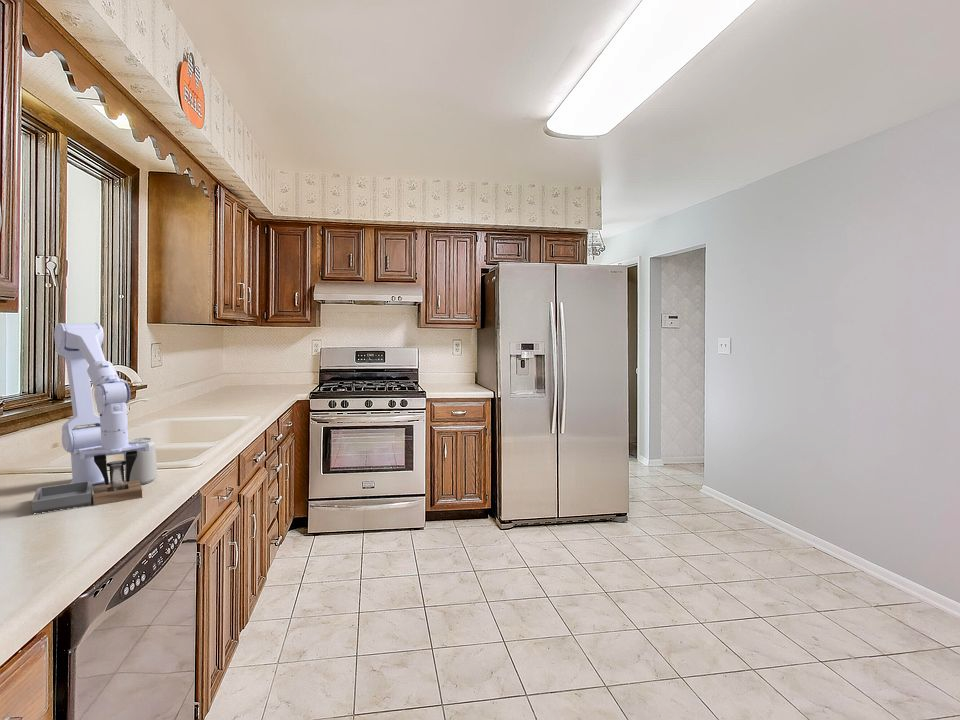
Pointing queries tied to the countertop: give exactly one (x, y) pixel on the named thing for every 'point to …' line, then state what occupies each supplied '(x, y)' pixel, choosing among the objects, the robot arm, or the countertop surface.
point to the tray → (62, 497)
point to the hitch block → (117, 493)
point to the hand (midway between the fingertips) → (117, 482)
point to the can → (143, 463)
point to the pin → (117, 475)
